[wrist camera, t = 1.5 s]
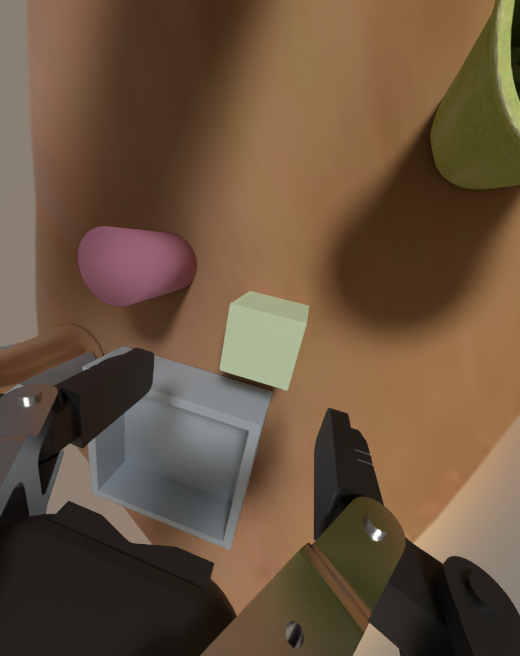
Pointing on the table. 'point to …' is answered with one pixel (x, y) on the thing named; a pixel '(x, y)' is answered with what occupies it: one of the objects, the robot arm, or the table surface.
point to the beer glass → (47, 357)
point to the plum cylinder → (134, 264)
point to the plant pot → (483, 109)
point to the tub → (182, 450)
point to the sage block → (263, 338)
